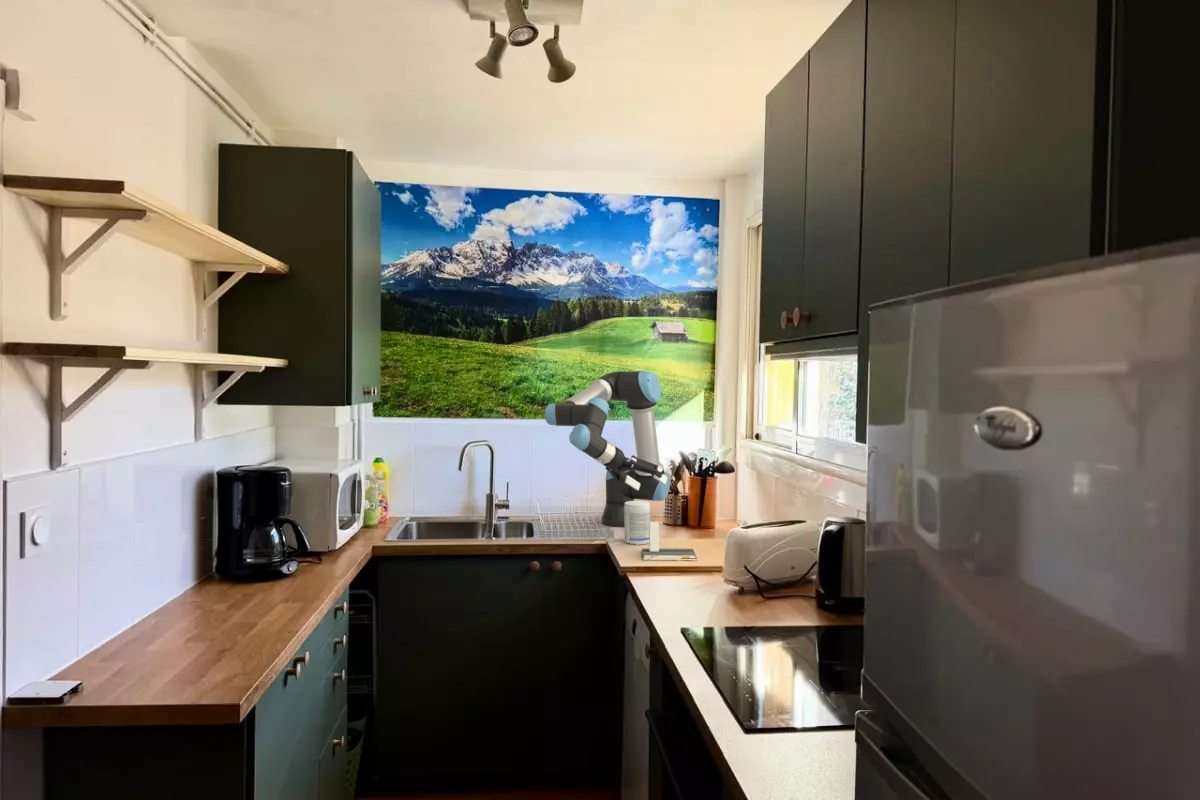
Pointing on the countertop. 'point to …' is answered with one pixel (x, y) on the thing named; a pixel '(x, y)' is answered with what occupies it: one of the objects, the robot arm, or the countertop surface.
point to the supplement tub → (637, 522)
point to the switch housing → (670, 553)
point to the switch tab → (653, 537)
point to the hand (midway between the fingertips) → (652, 484)
